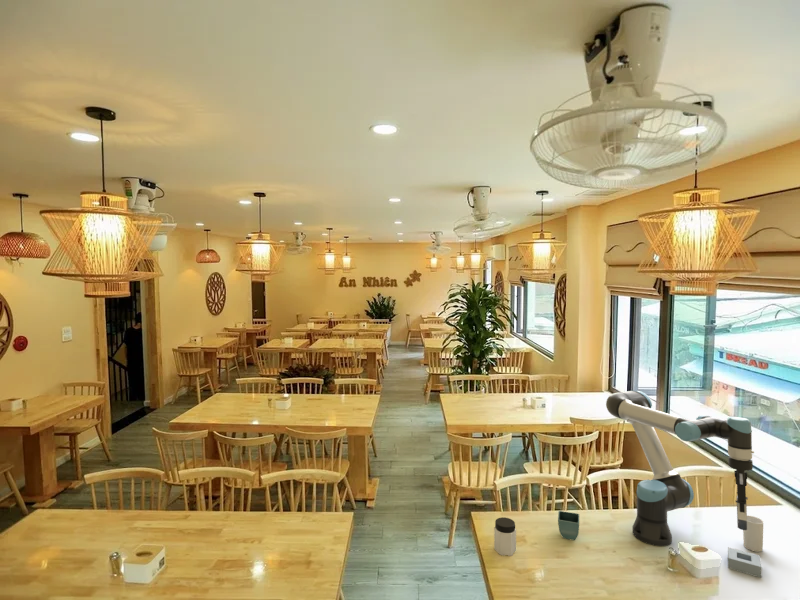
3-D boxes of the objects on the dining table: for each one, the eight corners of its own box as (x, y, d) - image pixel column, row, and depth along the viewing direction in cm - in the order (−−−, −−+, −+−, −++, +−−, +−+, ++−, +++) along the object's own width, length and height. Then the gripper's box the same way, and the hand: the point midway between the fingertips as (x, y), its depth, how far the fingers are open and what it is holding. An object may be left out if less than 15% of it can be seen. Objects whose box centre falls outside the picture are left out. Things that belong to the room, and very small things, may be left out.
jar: (519, 554, 182) (519, 525, 182) (503, 558, 179) (502, 529, 179) (507, 542, 191) (507, 515, 190) (491, 546, 188) (491, 518, 188)
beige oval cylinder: (767, 553, 182) (767, 524, 182) (749, 551, 183) (749, 523, 182) (751, 539, 192) (751, 512, 191) (734, 538, 193) (734, 511, 192)
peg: (737, 528, 172) (736, 497, 172) (737, 525, 175) (736, 495, 175) (747, 530, 170) (746, 499, 171) (747, 527, 173) (746, 497, 173)
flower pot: (557, 539, 193) (557, 519, 192) (558, 529, 201) (558, 510, 201) (579, 544, 189) (579, 523, 189) (579, 533, 197) (579, 513, 197)
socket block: (728, 568, 172) (728, 558, 172) (727, 556, 179) (727, 547, 179) (761, 577, 166) (761, 567, 166) (759, 565, 173) (759, 555, 173)
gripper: (753, 465, 164) (755, 528, 164) (751, 453, 177) (753, 512, 177) (728, 461, 169) (730, 523, 168) (728, 450, 182) (730, 507, 181)
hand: (742, 517), depth 173 cm, fingers closed on peg, 3 cm apart
